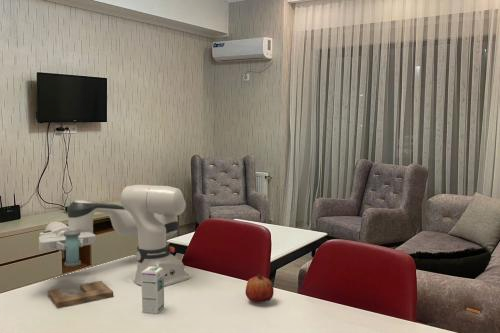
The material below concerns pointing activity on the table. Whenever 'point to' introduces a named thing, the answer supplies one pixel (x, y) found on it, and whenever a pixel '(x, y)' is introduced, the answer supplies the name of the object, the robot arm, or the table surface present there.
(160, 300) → the syrup box
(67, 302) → the notched board
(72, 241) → the bobbin
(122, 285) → the table surface
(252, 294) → the fruit
